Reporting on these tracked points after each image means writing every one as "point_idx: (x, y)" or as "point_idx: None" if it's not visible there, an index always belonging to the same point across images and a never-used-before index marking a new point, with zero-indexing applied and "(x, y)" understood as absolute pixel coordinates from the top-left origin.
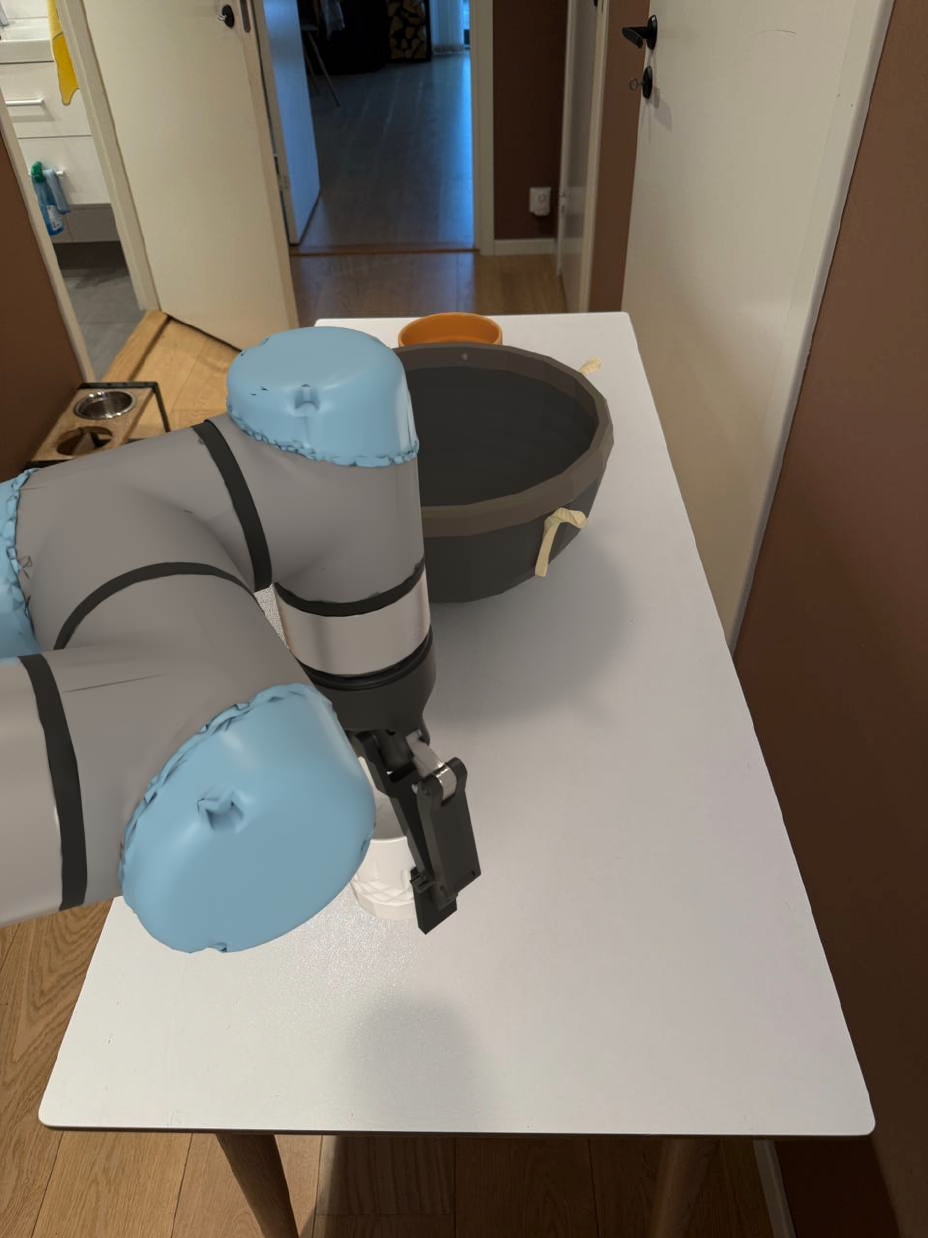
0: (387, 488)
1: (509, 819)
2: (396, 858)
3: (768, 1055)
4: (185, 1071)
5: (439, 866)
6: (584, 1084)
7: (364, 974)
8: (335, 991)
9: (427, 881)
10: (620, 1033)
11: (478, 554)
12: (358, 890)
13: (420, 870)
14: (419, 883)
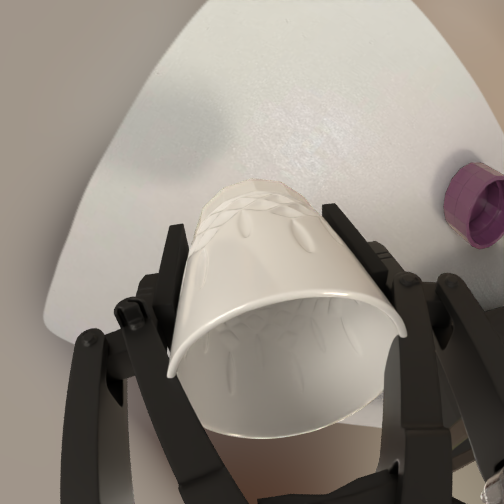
0: None
1: None
2: (178, 316)
3: (78, 318)
4: None
5: (76, 392)
6: (96, 230)
7: (257, 132)
8: (259, 105)
9: (126, 323)
10: (116, 266)
11: (446, 408)
12: (251, 194)
13: (145, 328)
14: (127, 314)
